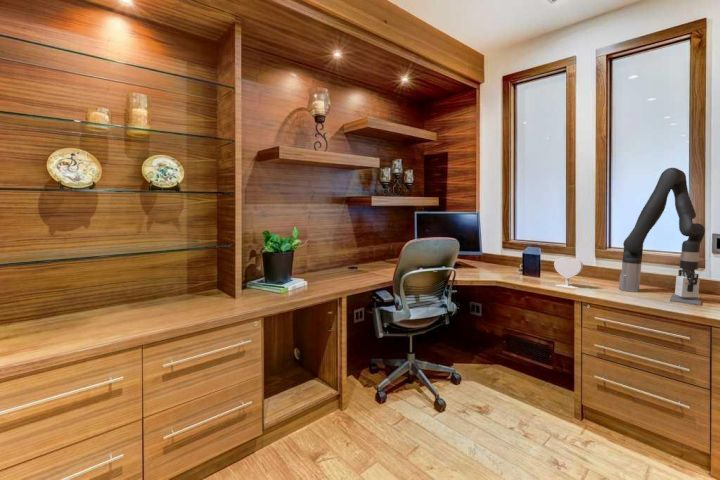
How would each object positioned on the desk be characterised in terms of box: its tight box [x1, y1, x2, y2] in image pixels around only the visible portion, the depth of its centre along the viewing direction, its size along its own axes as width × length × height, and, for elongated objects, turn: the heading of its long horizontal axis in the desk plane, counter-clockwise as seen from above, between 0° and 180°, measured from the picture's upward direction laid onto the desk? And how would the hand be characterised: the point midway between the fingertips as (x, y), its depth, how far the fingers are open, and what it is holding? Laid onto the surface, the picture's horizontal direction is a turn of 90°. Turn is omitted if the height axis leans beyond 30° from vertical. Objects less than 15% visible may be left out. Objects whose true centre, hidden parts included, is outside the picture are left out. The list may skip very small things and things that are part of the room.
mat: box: [669, 293, 702, 306], centre depth 194 cm, size 18×12×1 cm, turn 136°
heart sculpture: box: [553, 257, 584, 289], centre depth 226 cm, size 16×5×18 cm, turn 42°
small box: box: [674, 275, 701, 298], centre depth 194 cm, size 8×6×10 cm
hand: (686, 290), depth 194 cm, fingers closed on small box, 6 cm apart
